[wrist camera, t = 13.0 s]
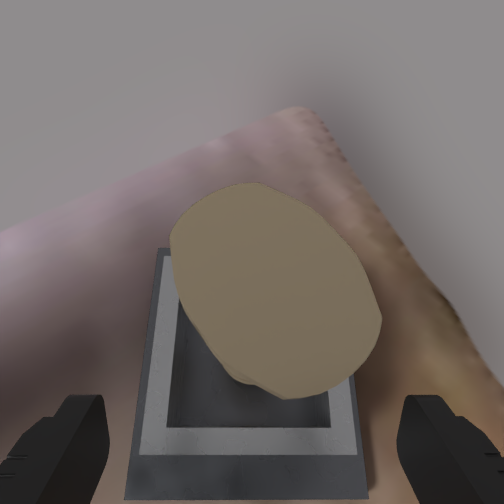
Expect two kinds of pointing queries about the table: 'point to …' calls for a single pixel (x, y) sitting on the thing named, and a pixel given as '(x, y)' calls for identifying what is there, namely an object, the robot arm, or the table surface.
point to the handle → (273, 290)
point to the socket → (232, 424)
